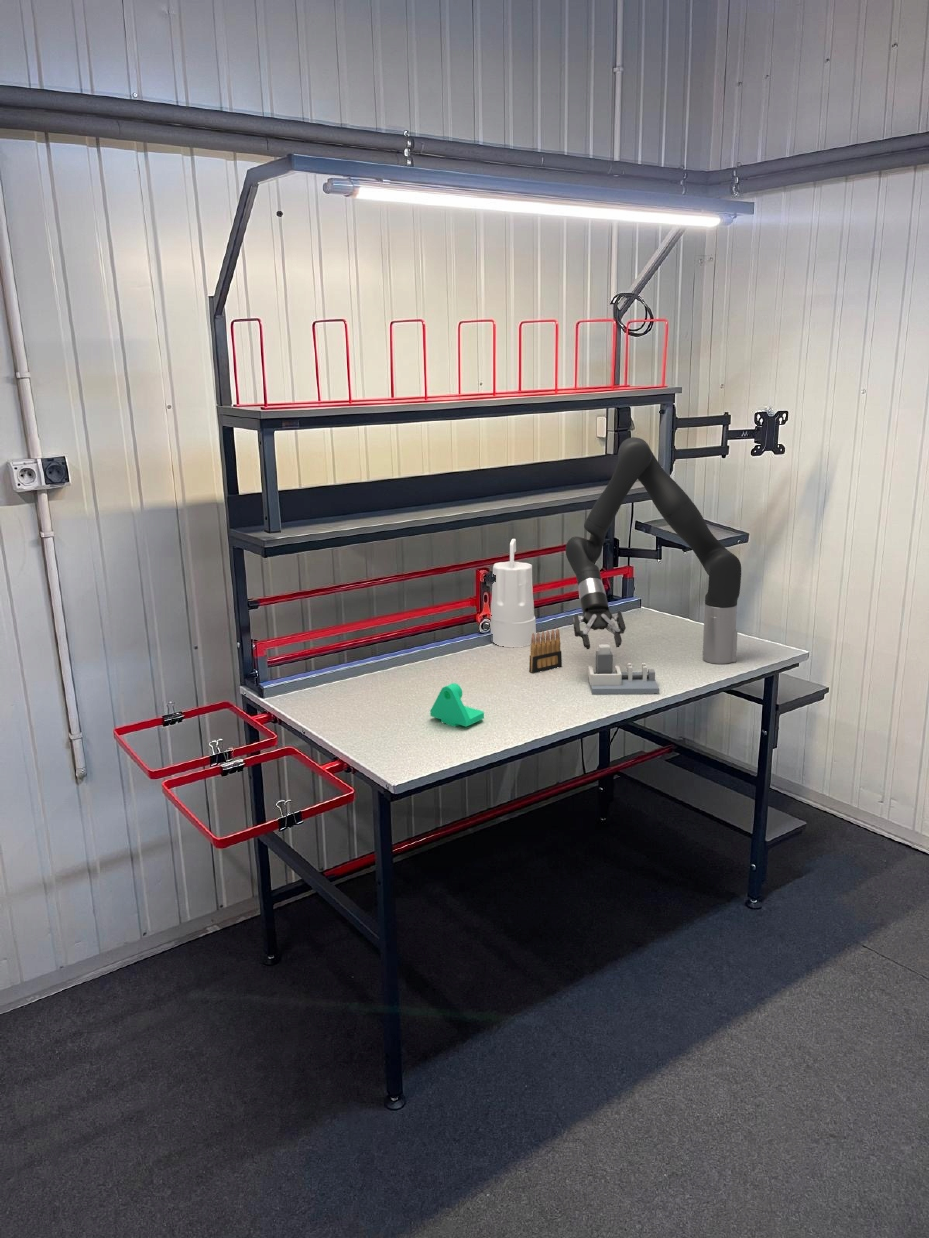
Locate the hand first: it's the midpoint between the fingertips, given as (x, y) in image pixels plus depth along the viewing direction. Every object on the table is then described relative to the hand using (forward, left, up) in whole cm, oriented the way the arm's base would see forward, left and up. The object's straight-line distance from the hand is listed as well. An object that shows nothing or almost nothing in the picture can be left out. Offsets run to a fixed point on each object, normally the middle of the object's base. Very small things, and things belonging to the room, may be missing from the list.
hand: (603, 647), depth 251 cm
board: (-5, +2, -11) cm, 12 cm away
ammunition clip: (+16, -13, -11) cm, 23 cm away
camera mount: (+39, +28, -11) cm, 49 cm away
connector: (0, +2, -9) cm, 9 cm away
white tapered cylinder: (+26, -43, -11) cm, 51 cm away
